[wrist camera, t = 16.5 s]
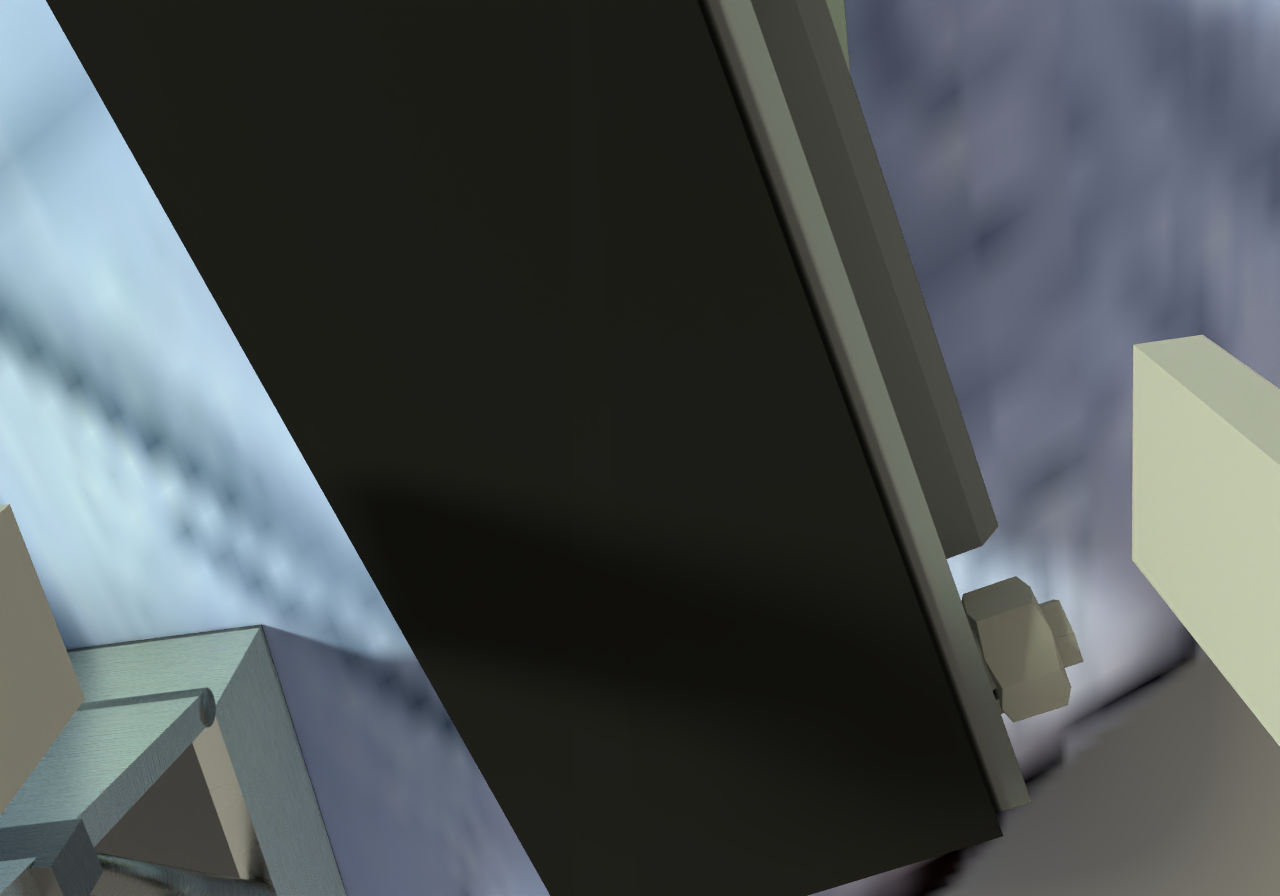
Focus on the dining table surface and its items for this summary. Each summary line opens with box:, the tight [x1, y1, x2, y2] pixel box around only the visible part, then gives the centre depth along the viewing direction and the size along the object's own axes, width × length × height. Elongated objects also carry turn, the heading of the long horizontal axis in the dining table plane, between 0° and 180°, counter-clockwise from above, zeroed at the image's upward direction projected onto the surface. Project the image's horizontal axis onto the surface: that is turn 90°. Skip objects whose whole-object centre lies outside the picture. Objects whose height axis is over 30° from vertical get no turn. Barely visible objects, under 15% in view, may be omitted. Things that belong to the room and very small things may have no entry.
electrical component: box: [46, 0, 1083, 896], centre depth 26 cm, size 18×10×20 cm, turn 22°
